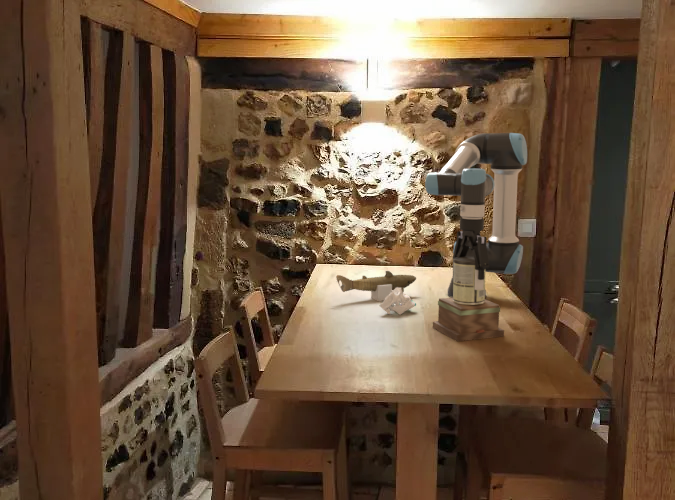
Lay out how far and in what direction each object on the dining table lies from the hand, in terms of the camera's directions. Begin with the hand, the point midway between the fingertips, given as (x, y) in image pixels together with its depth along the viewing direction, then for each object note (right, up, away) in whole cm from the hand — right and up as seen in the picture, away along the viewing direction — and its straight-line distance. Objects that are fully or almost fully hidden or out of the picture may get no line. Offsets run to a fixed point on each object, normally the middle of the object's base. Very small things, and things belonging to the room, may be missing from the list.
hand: (469, 285), depth 202 cm
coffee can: (0, -5, +1) cm, 6 cm away
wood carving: (-27, -8, +45) cm, 54 cm away
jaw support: (-20, -11, +27) cm, 36 cm away
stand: (0, -15, +3) cm, 15 cm away
